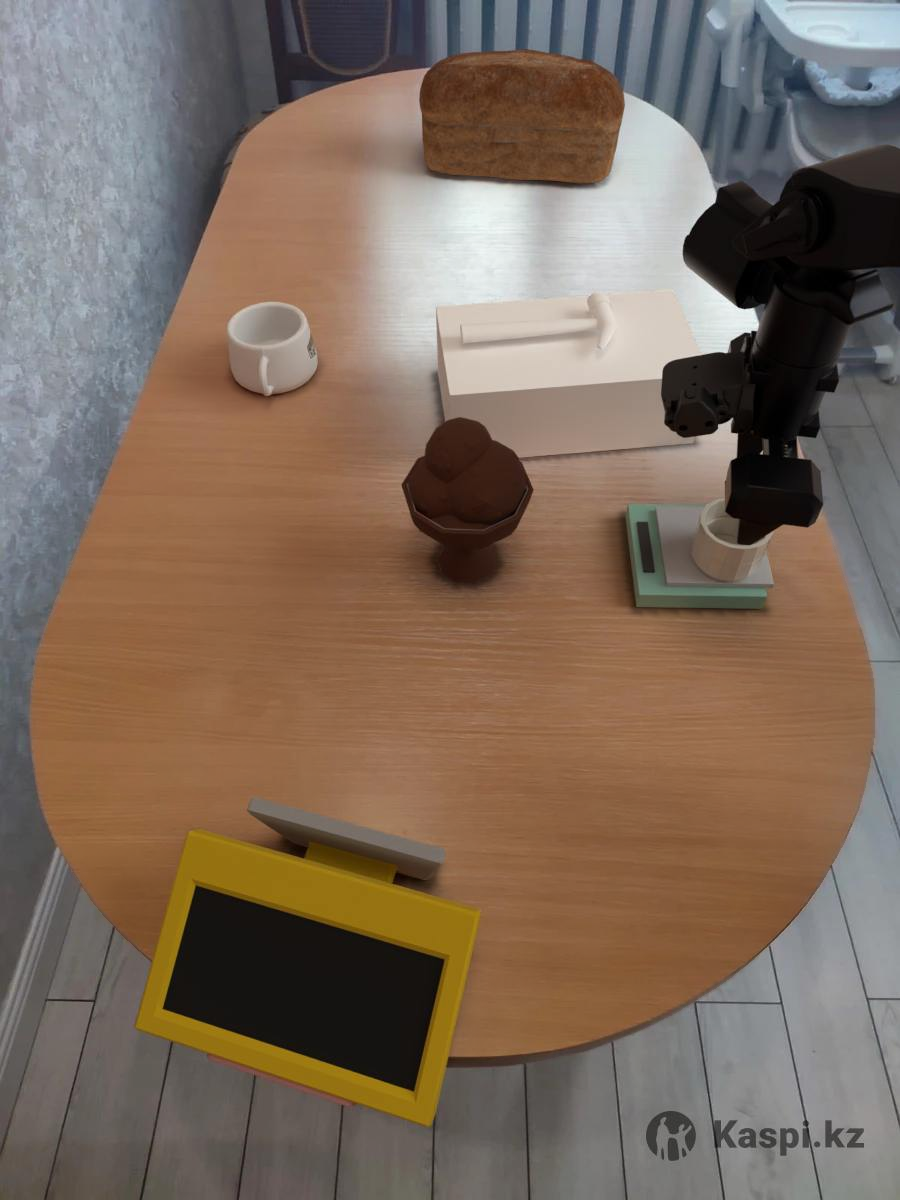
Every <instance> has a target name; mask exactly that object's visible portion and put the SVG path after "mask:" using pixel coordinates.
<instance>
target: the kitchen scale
mask: <svg viewBox="0 0 900 1200" xmlns="http://www.w3.org/2000/svg"><path fill="white" fill-rule="evenodd" d="M706 505H707V504H687V503H686V504H684V503H683V504H682V503H676V504H675V503H671V504H669V503H668V504H667V503H665V504H664V503H628V504H627V505H626V511H625V515H624V516H625V517H624V518H625V526H626V533H627V542H628V551H629V558H630V567H631V574H632V583H633V591H634V592H633V593H634V599H635V607H636V608H673V609H674V608H675V609H677V608H679V609H739V610H740V609H743V610H744V609H746V610H747V609H749V610H750V609H752V610H762V609H763V607H764V605H765V603H766V600H767V598H768V594H767V589H773V588H774V586H775V582H774V577H773V574H772V570H771V565H770V561H769V558H768V554H767V553H768V552H767V551H766V552H765V555H764V557H763V560H762V562H761V565H760V566H759V568H758V570H757V571H756V572H755V573H754V574H752V575H750V576H749V577H747V578H745V579H742V580H738V581H722V580H718V579H715V578H712V577H710V576H708V575H707V574H705V573H704V572H703V571H701V570H700V569H699V567H698V566H697V564H696V563H695V561H694V559H693V557H692V554H691V548H692V542H693V538H694V535H695V531H696V528H697V524H698V521H699V517H700V514H701V512H702V510H703V509H704V507H705V506H706Z"/></svg>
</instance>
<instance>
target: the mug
mask: <svg viewBox="0 0 900 1200" xmlns="http://www.w3.org/2000/svg"><path fill="white" fill-rule="evenodd" d="M226 340H227V341H226V342H227V347H228V356H229V365H230V370H231V373H232V376H233V379H234V380H235V381H236V382H237V383H238V384H239V385H240V386H241V387H243V388H244V389H246V390H249V391H250V392H253V393H257V394H261V395H264V397H269V396H271V395H276V394H284V393H287V392H291V391H294V390H296V389H298V388H301V387H302V386H303V385H304V384H307V382H309V381H310V380H311V378H312V377H313V375H314V374H315V373H316V372H317V368H318V365H319V361H318V352H317V348H316V345H315V342H314V339H313V335H312V332H311V329H310V325H309V322H308V319H307V318H306V315H305V313H304V311H302V310H301V309H300V308H299V307H298V306H294V305H292V304H290V303H286V302H282V301H266V302H265V301H264V302H259V303H255V304H251V305H248V306H246V307H244V308H241V309H240V310H238V311H237V312H235V313H234V314H233V316H232V317H230V319H229V320H228V322H227V325H226Z"/></svg>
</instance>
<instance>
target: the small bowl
mask: <svg viewBox="0 0 900 1200" xmlns="http://www.w3.org/2000/svg"><path fill="white" fill-rule="evenodd" d="M705 505H706V506H705V507H704V509H703V510H702V512H701V514H700V517H699V521H698V524H697V528H696V531H695V535H694V538H693V542H692V548H691V554H692V557H693V559H694V561H695V563H696V564H697V566H698V567H699V569H700V570H701V571H703V572H704V573H705V574H707V575H708V576H710V577H712V578H715V579H718V580H722V581H738V580H742V579H745V578H747V577H749V576H750V575H752V574H754V573H755V572H756V571H757V570H758V568H759V566H760V565H761V562H762V560H763V557H764V555H765V552H766V553H767V549H768V546H769V544H770V542H771V541H772V537H773V534H774V531H772V532H771V533H769V534H768V535H766V536H765V537H763V538H761V539H760V540H758V541H757V542H755V543H754V544H752V545H741V544H738V543H737V533H738V520H739V519H734V518H732V517H731V516H730V515H728V514H727V513H726V512H725V496H724V497H718V498H716V499H713V500H712V501H710V502H707V504H705Z"/></svg>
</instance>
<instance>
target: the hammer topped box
mask: <svg viewBox="0 0 900 1200" xmlns="http://www.w3.org/2000/svg"><path fill="white" fill-rule="evenodd" d="M435 316H436V317H435V321H436V322H435V323H436V324H435V325H436V349H437V350H436V353H437V376H438V383H439V389H440V397H441V404H442V410H443V416H444V422H445V421H447V420H450V419H454V418H458V417H462V418H467V419H471V420H475V421H478V422H480V423H481V424H482V425H484V426H485V427H486V429H487V431H488V432H489V434H490V436H491V438H492V440H495V441H498V442H499V443H501V444H503V445H505V446H507V447H508V448H510V449H512V450H513V451H514V452H515V453H516V455H517V456H518V458H519V459H521V458H532V457H544V456H545V457H547V456H556V455H557V456H558V455H567V454H568V455H569V454H580V453H591V452H605V451H606V452H607V451H616V450H629V449H641V448H654V447H665V446H676V445H677V446H678V445H690V444H691V445H692V444H694V441H695V438H696V436H695V437H689V438H683V437H681V436H679V435H677V433H676V432H673V431H671V430H670V429H669V427H667V426H666V425H665V424H664V417H665V410H664V406H663V402H662V398H661V386H662V372H663V368H664V366H665V365H666V364H667V363H669V362H671V361H673V360H677V359H682V358H687V357H693V356H698V355H703V353H702V351H701V350H700V349H701V348H700V347H699V346H698V343H697V341H696V338H695V336H694V335H693V332H692V329H691V327H690V325H689V322H688V321H687V318H686V317H685V314H684V312H683V309H682V307H681V305H680V303H679V301H678V299H677V296H676V294H675V292H674V290H673V289H672V288H670V289H657V290H655V289H654V290H642V291H631V292H630V291H629V292H615V293H606V292H603V291H595V292H593V293H591V294H589V295H575V296H561V297H560V296H559V297H548V298H534V299H522V300H520V299H519V300H507V301H506V300H505V301H495V302H480V303H465V304H452V305H442V306H441V305H439V306H438V305H437V306H435Z"/></svg>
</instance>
